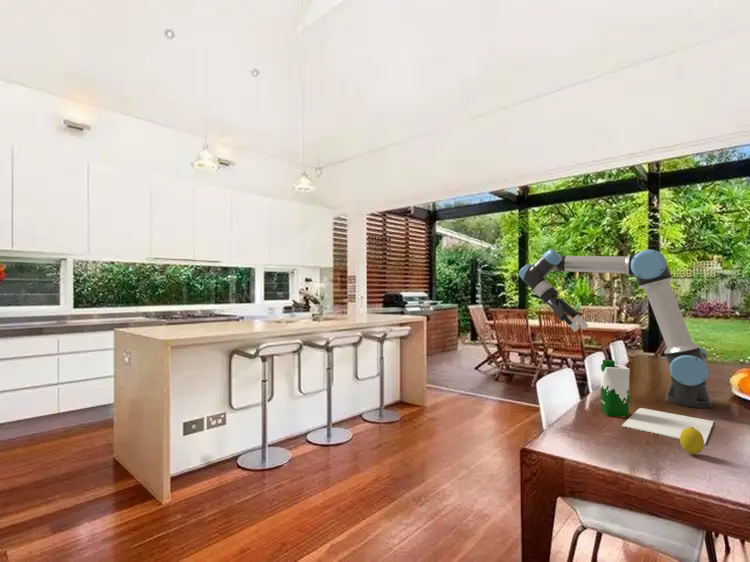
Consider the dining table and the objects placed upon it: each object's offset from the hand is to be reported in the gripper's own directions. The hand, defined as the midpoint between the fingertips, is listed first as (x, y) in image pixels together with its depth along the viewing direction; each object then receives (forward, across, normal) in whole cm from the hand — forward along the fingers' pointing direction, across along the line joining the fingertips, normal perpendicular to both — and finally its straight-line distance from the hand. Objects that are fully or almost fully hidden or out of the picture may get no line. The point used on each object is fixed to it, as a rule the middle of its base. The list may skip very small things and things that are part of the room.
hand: (581, 328), depth 181 cm
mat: (+45, +18, +3) cm, 48 cm away
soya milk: (+33, +18, -9) cm, 39 cm away
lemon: (+51, +44, +10) cm, 68 cm away
